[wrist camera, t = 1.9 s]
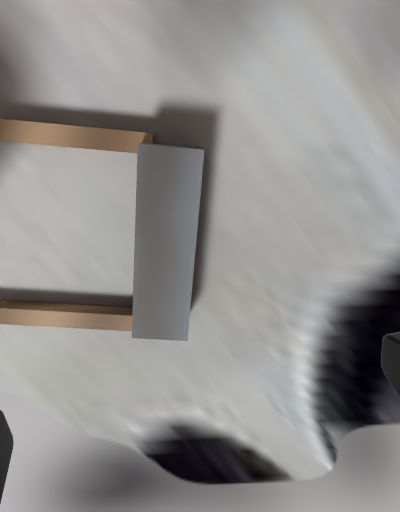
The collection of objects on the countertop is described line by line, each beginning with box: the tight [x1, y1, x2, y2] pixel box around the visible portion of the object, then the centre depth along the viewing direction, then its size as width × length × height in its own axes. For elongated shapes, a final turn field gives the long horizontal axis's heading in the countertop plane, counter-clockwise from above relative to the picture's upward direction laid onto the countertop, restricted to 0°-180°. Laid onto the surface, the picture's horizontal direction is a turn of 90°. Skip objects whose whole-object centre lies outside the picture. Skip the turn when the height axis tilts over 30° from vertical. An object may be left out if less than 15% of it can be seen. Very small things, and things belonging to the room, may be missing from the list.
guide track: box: [0, 119, 205, 341], centre depth 18 cm, size 18×11×2 cm, turn 85°
